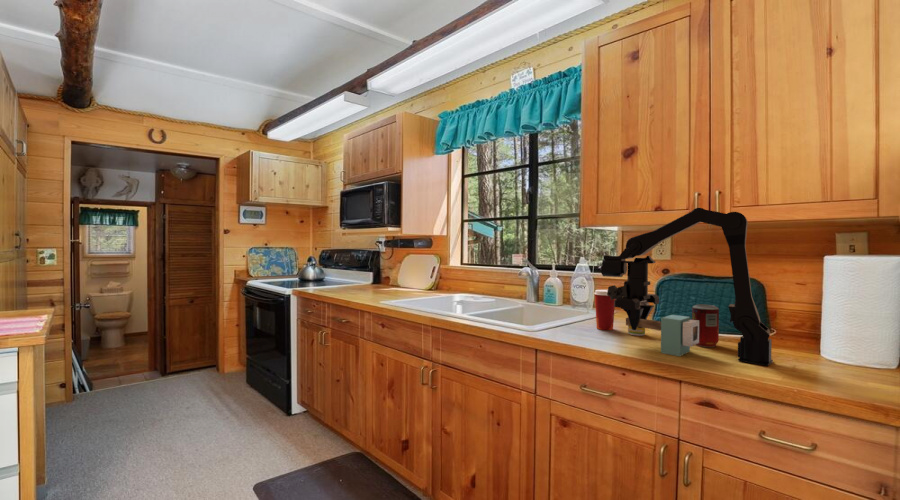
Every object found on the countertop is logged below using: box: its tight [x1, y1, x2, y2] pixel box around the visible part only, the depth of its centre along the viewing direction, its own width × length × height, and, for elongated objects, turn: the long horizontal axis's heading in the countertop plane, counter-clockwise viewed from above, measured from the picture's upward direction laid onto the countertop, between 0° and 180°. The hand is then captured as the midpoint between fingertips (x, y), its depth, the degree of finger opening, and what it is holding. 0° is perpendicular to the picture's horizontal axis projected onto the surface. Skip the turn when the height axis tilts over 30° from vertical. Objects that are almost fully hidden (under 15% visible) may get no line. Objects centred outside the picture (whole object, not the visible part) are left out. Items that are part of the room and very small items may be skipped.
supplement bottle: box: [627, 325, 646, 337], centre depth 145 cm, size 5×5×10 cm
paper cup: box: [593, 289, 616, 331], centre depth 155 cm, size 8×8×14 cm
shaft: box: [625, 317, 696, 335], centre depth 125 cm, size 19×2×2 cm, turn 43°
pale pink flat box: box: [683, 319, 699, 348], centre depth 118 cm, size 2×6×6 cm, turn 133°
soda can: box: [691, 303, 720, 348], centre depth 130 cm, size 7×7×12 cm
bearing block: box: [660, 314, 691, 357], centre depth 121 cm, size 5×8×10 cm, turn 133°
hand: (637, 329), depth 129 cm, fingers open, 4 cm apart
